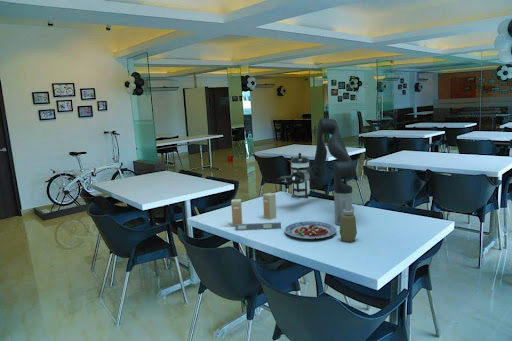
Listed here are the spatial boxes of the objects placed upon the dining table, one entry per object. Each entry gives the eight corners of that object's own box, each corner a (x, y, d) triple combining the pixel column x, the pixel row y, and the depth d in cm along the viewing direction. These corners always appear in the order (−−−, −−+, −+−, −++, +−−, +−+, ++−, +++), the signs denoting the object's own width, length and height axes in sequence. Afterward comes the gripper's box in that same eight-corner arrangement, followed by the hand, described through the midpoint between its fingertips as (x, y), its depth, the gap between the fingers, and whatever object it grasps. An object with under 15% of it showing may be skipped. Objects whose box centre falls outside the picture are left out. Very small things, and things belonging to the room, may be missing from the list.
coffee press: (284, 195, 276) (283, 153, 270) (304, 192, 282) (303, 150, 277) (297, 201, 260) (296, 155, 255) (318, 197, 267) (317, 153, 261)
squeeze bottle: (344, 235, 192) (344, 199, 189) (359, 238, 187) (359, 202, 184) (336, 240, 186) (335, 203, 183) (352, 244, 181) (352, 206, 178)
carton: (270, 216, 230) (269, 192, 228) (276, 217, 226) (275, 193, 224) (263, 218, 227) (262, 194, 224) (269, 219, 223) (268, 195, 220)
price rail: (281, 227, 208) (280, 222, 208) (281, 228, 207) (280, 223, 206) (235, 229, 209) (235, 224, 209) (235, 230, 208) (235, 225, 207)
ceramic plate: (319, 222, 215) (319, 217, 215) (346, 236, 192) (346, 230, 191) (276, 229, 206) (276, 224, 206) (299, 246, 183) (299, 239, 182)
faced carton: (233, 223, 219) (232, 199, 216) (242, 223, 219) (241, 199, 216) (232, 226, 214) (231, 201, 211) (241, 226, 214) (240, 201, 211)
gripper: (291, 169, 246) (273, 174, 235) (309, 172, 236) (291, 177, 225) (292, 181, 247) (273, 186, 237) (309, 184, 237) (291, 190, 226)
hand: (282, 181), depth 231 cm, fingers open, 8 cm apart
